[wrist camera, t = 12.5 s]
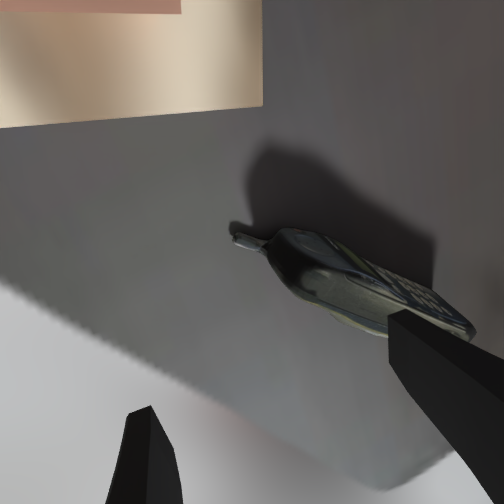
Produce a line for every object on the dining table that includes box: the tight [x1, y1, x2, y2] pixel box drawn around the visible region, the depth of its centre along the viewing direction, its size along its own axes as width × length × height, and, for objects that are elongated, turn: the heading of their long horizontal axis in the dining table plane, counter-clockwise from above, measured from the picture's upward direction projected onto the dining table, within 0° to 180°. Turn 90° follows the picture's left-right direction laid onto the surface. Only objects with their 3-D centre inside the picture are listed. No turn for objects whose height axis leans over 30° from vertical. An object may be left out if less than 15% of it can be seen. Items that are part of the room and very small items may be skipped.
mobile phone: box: [232, 228, 477, 342], centre depth 23 cm, size 5×3×15 cm
